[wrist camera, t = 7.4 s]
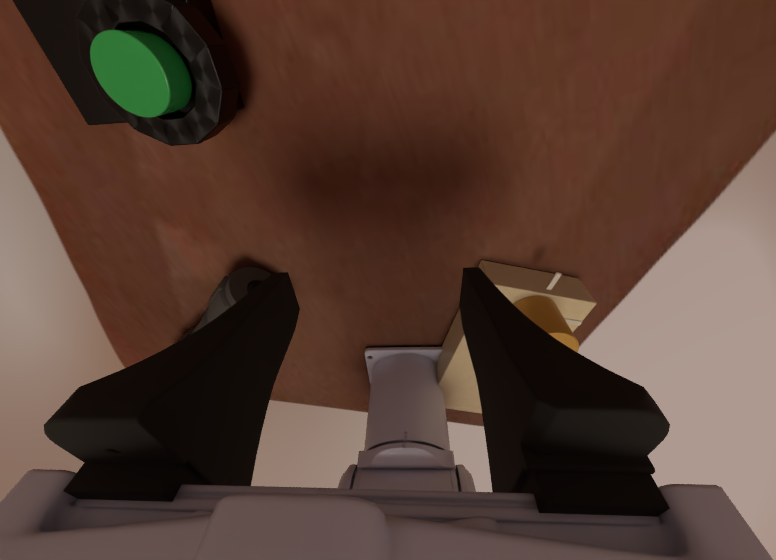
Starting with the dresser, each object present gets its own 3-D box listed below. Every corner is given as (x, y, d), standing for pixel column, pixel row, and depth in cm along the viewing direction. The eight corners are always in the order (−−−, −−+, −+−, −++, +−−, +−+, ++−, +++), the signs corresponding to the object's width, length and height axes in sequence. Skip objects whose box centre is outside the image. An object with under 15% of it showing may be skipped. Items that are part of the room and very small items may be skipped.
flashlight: (243, 248, 24) (208, 293, 19) (302, 286, 26) (282, 334, 22) (175, 343, 31) (139, 390, 27) (226, 366, 33) (199, 414, 29)
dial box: (496, 390, 34) (503, 418, 31) (426, 379, 33) (428, 407, 31) (592, 258, 23) (615, 284, 20) (490, 238, 22) (501, 262, 20)
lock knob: (567, 300, 22) (593, 341, 19) (542, 334, 24) (562, 376, 21) (518, 292, 21) (537, 332, 18) (498, 327, 23) (511, 368, 20)
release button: (203, 108, 15) (182, 115, 13) (145, 113, 15) (118, 120, 13) (172, 27, 13) (144, 25, 11) (106, 34, 13) (71, 33, 12)
